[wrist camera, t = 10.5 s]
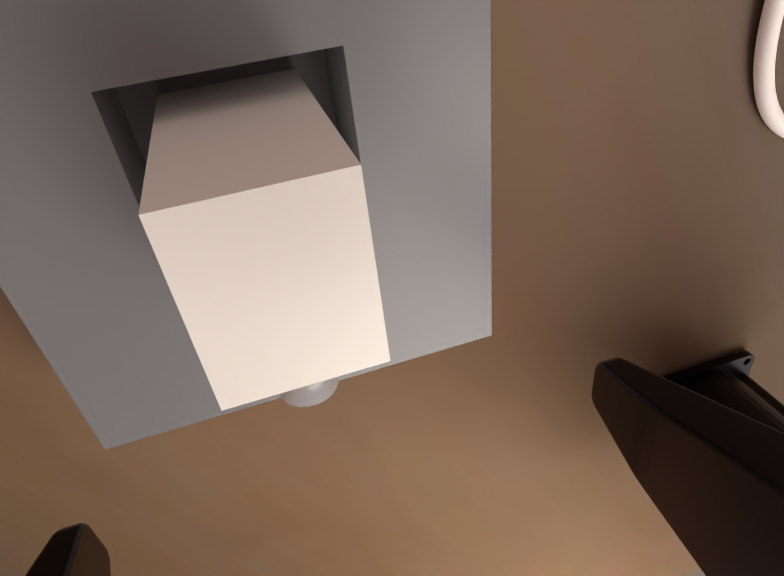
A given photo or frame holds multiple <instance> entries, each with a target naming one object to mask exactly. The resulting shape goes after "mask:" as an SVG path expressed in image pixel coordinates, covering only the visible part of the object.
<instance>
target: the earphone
mask: <svg viewBox="0 0 784 576" xmlns="http://www.w3.org/2000/svg"><path fill="white" fill-rule="evenodd" d="M783 15H784V0H765V1H764V5H763V9H762V13H761V18H760V22H759V27H758V33H757V38H756V45H755V53H754V64H753V85H754V95H755V100H756V104H757V108H758V110H759V113H760V115H761V117H762V119H763V121H764V122H765V124H766V125H767V126H768V127H769V128H770V129H771V130H772V131H773V132H774V133H775V134H777V135H779V136H780V137H782V138H784V113H783V111H782V110H781V108H780V105H779V103H778V100H777V95H776V90H775V59H776V51H777V44H778V38H779V33H780V28H781V24H782V20H783Z"/></svg>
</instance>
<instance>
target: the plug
mask: <svg viewBox="0 0 784 576" xmlns="http://www.w3.org/2000/svg"><path fill="white" fill-rule="evenodd" d="M138 215H139V218H140V220H141V222H142V225H143V227H144V229H145V232H146V234H147V237H148V239H149V241H150V244H151V246H152V248H153V251H154V253H155V255H156V258H157V260H158V262H159V265H160V267H161V269H162V272H163V274H164V277H165V279H166V281H167V284H168V286H169V288H170V291H171V293H172V295H173V298H174V300H175V302H176V305H177V307H178V309H179V312H180V314H181V317H182V319H183V321H184V324H185V326H186V328H187V331H188V333H189V335H190V338H191V340H192V342H193V345H194V347H195V350H196V352H197V354H198V357H199V359H200V361H201V364H202V366H203V368H204V371H205V373H206V375H207V378H208V380H209V382H210V385H211V387H212V390H213V392H214V394H215V397H216V399H217V401H218V404H219V406H220V408H221V411H223V410H226V409H230V408H233V407H236V406H240V405H243V404H247V403H250V402H253V401H257V400H260V399H264V398H267V397H270V396H274V395H277V394H280V396H281V398H282V399H283V400H284V401H285V402H286V403H287V404H289V405H292V406H296V407H309V406H313V405H316V404H319V403H321V402H323V401H325V400H326V399H328V398H329V397H330V396H331V395H332V394H333V393H334V392H335V390H336V388H337V386H338V376H342V375H345V374H348V373H352V372H355V371H359V370H362V369H365V368H369V367H372V366H376V365H379V364H382V363H386V362H389V361H390V354H389V347H388V341H387V334H386V327H385V321H384V314H383V307H382V301H381V294H380V287H379V281H378V274H377V267H376V261H375V254H374V247H373V241H372V234H371V227H370V221H369V214H368V207H367V201H366V194H365V187H364V181H363V174H362V167H361V164H360V162H359V161H358V159H357V158H356V157H355V155H354V154H353V152H352V151H351V149H350V148H349V146H348V145H347V144H346V142H345V141H344V139H343V138H342V136H341V135H340V133H339V132H338V131H337V129H336V128H335V126H334V125H333V123H332V122H331V120H330V119H329V118H328V116H327V115H326V113H325V112H324V110H323V109H322V108H321V106H320V105H319V103H318V102H317V100H316V99H315V97H314V96H313V95H312V93H311V92H310V90H309V89H308V87H307V86H306V84H305V83H304V82H303V80H302V79H301V77H300V76H299V74H298V73H297V71H296V70H295V69H290V70H284V71H279V72H274V73H268V74H263V75H258V76H253V77H247V78H242V79H237V80H231V81H226V82H221V83H216V84H210V85H205V86H200V87H195V88H189V89H184V90H179V91H173V92H168V93H163V94H158V95H157V101H156V107H155V113H154V120H153V126H152V132H151V139H150V145H149V151H148V157H147V164H146V170H145V176H144V183H143V189H142V195H141V201H140V208H139V214H138Z"/></svg>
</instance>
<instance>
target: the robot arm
mask: <svg viewBox="0 0 784 576" xmlns="http://www.w3.org/2000/svg"><path fill="white" fill-rule="evenodd" d="M753 361H754V355H752V354H751V353H750V352H748V351H743V352H740V353H737V354H734V355H731V356H728V357H725V358H722V359H719V360H716V361H713V362H710V363H707V364H704V365H701V366H698V367H695V368H692V369H689V370H686V371H683V372H679V373H676V374H673V375H670V376H667V377H664V378H663V377H661V376H659V375H656V374H654V373H652V372H650V371H648V370H646V369H643V368H641V367H639V366H637V365H635V364H633V363H630V362H628V361H626V360H624V359H621V358H612V359H609V360H605V361H602V362H600V363H598V364H597V365H596V367H595V373H594V380H593V387H592V400H593V403H594V405H595V407H596V409H597V411H598V413H599V414H600V416H601V418H602V420H603V421H604V423H605V425H606V427H607V428H608V430H609V432H610V434H611V435H612V437H613V439H614V441H615V442H616V444H617V446H618V448H619V449H620V451H621V453H622V455H623V457H624V458H625V460H626V462H627V464H628V465H629V467H630V469H631V470H632V472H633V474H634V475H635V477H636V478H637V480H638V481H639V483H640V484H641V486H642V487H643V489H644V490H645V491H646V493H647V494H648V496H649V497H650V498H651V500H652V501H653V503H654V504H655V505H656V507H657V508H658V510H659V511H660V512H661V514H662V515H663V516H664V518H665V519H666V521H667V522H668V523H669V525H670V526H671V528H672V529H673V530H674V532H675V533H676V535H677V536H678V537H679V539H680V540H681V542H682V543H683V544H684V546H685V547H686V549H687V550H688V551H689V553H690V554H691V556H692V557H693V558H694V560H695V561H696V563H697V564H698V565H699V567H700V568H701V570H702V571H703V572H704V574H705V575H706V576H784V405H783V404H781V403H780V402H779V401H778V400H776V399H775V398H774V397H773V396H772V395H770V394H769V393H768V392H767V391H766V390H764V389H763V388H762V387H761V386H760V385H758V384H757V383H756V382H755V381H753V380H752V379H751V378H750V377H749V376H748V374H749V372H750V369H751V366H752V364H753ZM25 576H111V573H110V558H109V554H108V551H107V549H106V548H105V546H104V545H103V544H102V542H101V541H100V540H99V538H98V537H97V536H96V534H95V533H94V532H93V530H92V529H91V528H90V527H89V526H88V524H85V523H79V524H76V525H72V526H69V527H66V528H63V529H60V530H58V531H57V532H56V533H55V534H53V536H52V537H51V538H50V540H49V541H48V543H47V544H46V546H45V547H44V549H43V550H42V552H41V553H40V555H39V556H38V557H37V559H36V560H35V562H34V563H33V565H32V566H31V568H30V569H29V571H28V572H27V574H26V575H25Z"/></svg>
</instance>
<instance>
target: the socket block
mask: <svg viewBox="0 0 784 576" xmlns="http://www.w3.org/2000/svg"><path fill="white" fill-rule="evenodd" d="M290 69H295V70H296V71H297V73H298V74H299V76H300V77H301V79H302V80H303V82H304V83H305V84H306V86H307V87H308V89H309V90H310V92H311V93H312V95H313V96H314V97H315V99H316V100H317V102H318V103H319V105H320V106H321V108H322V109H323V110H324V112H325V113H326V115H327V116H328V118H329V119H330V120H331V122H332V123H333V125H334V126H335V128H336V129H337V131H338V132H339V133H340V135H341V136H342V138H343V139H344V141H345V142H346V144H347V145H348V146H349V148H350V149H351V151H352V152H353V154H354V155H355V157H356V158H357V159H358V161H359V162H360V164H361V167H362V174H363V181H364V187H365V194H366V201H367V207H368V214H369V221H370V227H371V234H372V241H373V247H374V254H375V261H376V267H377V274H378V281H379V287H380V294H381V301H382V307H383V314H384V321H385V327H386V334H387V341H388V347H389V354H390V361H389V362H386V363H382V364H379V365H376V366H372V367H369V368H365V369H362V370H359V371H355V372H352V373H348V374H345V375H342V376H338V381H339V380H343V379H346V378H349V377H353V376H356V375H359V374H363V373H366V372H370V371H373V370H376V369H380V368H383V367H387V366H390V365H393V364H397V363H400V362H403V361H407V360H410V359H414V358H417V357H420V356H424V355H427V354H431V353H434V352H437V351H441V350H444V349H447V348H451V347H454V346H458V345H461V344H464V343H468V342H471V341H475V340H478V339H481V338H485V337H488V336H491V335H492V284H491V0H0V287H1V289H2V290H3V292H4V293H5V295H6V297H7V298H8V300H9V301H10V303H11V304H12V306H13V307H14V309H15V311H16V312H17V314H18V315H19V317H20V318H21V320H22V321H23V323H24V324H25V326H26V328H27V329H28V331H29V332H30V334H31V335H32V337H33V338H34V340H35V342H36V343H37V345H38V346H39V348H40V349H41V351H42V352H43V354H44V356H45V357H46V359H47V360H48V362H49V363H50V365H51V366H52V368H53V370H54V371H55V373H56V374H57V376H58V377H59V379H60V380H61V382H62V383H63V385H64V387H65V388H66V390H67V391H68V393H69V394H70V396H71V397H72V399H73V401H74V402H75V404H76V405H77V407H78V408H79V410H80V411H81V413H82V415H83V416H84V418H85V419H86V421H87V422H88V424H89V425H90V427H91V428H92V430H93V432H94V433H95V435H96V436H97V438H98V439H99V441H100V442H101V444H102V446H103V447H104V449H105V450H106V449H109V448H113V447H116V446H119V445H123V444H126V443H129V442H133V441H136V440H140V439H143V438H146V437H150V436H153V435H156V434H160V433H163V432H167V431H170V430H173V429H177V428H180V427H184V426H187V425H190V424H194V423H197V422H200V421H204V420H207V419H211V418H214V417H217V416H221V415H224V414H228V413H231V412H234V411H238V410H241V409H244V408H248V407H251V406H255V405H258V404H261V403H265V402H268V401H272V400H275V399H278V398H281V396H280V394H277V395H274V396H270V397H267V398H264V399H260V400H257V401H253V402H250V403H247V404H243V405H240V406H236V407H233V408H230V409H226V410H223V411H221V408H220V406H219V404H218V401H217V399H216V397H215V394H214V392H213V390H212V387H211V385H210V382H209V380H208V378H207V375H206V373H205V371H204V368H203V366H202V364H201V361H200V359H199V357H198V354H197V352H196V350H195V347H194V345H193V342H192V340H191V338H190V335H189V333H188V331H187V328H186V326H185V324H184V321H183V319H182V317H181V314H180V312H179V309H178V307H177V305H176V302H175V300H174V298H173V295H172V293H171V291H170V288H169V286H168V284H167V281H166V279H165V277H164V274H163V272H162V269H161V267H160V265H159V262H158V260H157V258H156V255H155V253H154V251H153V248H152V246H151V244H150V241H149V239H148V237H147V234H146V232H145V229H144V227H143V225H142V222H141V220H140V218H139V215H138V214H139V208H140V201H141V195H142V189H143V183H144V176H145V170H146V164H147V157H148V151H149V145H150V139H151V132H152V126H153V120H154V113H155V107H156V101H157V95H158V94H163V93H168V92H173V91H179V90H184V89H189V88H195V87H200V86H205V85H210V84H216V83H221V82H226V81H231V80H237V79H242V78H247V77H253V76H258V75H263V74H268V73H274V72H279V71H284V70H290Z"/></svg>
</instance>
